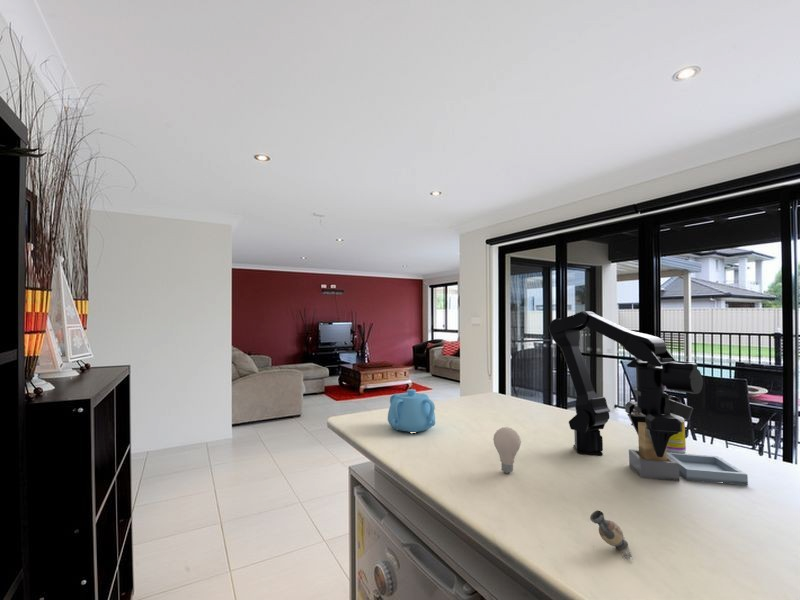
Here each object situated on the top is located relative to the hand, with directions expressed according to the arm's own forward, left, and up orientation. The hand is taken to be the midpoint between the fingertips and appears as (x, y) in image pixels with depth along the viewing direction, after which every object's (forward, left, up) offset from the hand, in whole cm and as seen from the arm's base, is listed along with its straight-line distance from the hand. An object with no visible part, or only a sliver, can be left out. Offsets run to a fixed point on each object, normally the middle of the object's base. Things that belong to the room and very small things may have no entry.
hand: (652, 450), depth 93 cm
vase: (-20, -37, -6) cm, 43 cm away
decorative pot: (-66, +22, -6) cm, 70 cm away
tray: (+12, +3, -5) cm, 13 cm away
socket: (0, 0, -5) cm, 5 cm away
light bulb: (-35, -9, -6) cm, 36 cm away
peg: (0, 0, -5) cm, 5 cm away
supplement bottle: (+12, +20, -6) cm, 24 cm away
